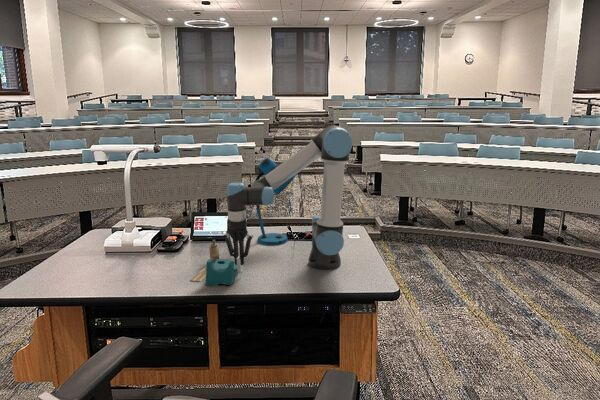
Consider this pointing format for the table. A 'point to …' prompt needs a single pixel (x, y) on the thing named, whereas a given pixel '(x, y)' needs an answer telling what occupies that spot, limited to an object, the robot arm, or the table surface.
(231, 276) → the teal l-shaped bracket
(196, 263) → the table surface
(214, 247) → the awl
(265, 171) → the desk lamp
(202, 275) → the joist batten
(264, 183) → the robot arm
